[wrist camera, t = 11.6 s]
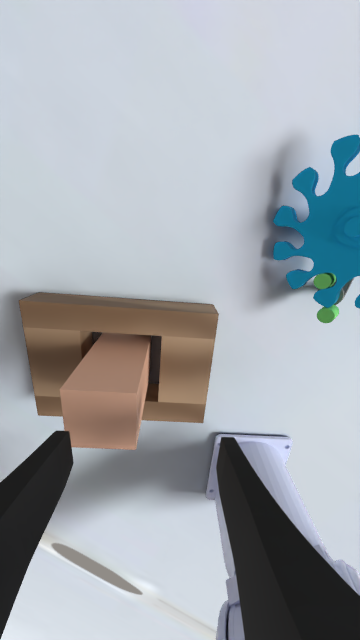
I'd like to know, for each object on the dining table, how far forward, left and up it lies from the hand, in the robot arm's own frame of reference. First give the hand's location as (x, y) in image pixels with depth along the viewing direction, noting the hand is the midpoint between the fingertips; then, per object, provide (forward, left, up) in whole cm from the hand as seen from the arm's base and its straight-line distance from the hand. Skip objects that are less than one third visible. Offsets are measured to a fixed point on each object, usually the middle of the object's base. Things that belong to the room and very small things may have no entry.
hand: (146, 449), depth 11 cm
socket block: (0, +3, -10) cm, 10 cm away
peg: (0, +3, -10) cm, 10 cm away
